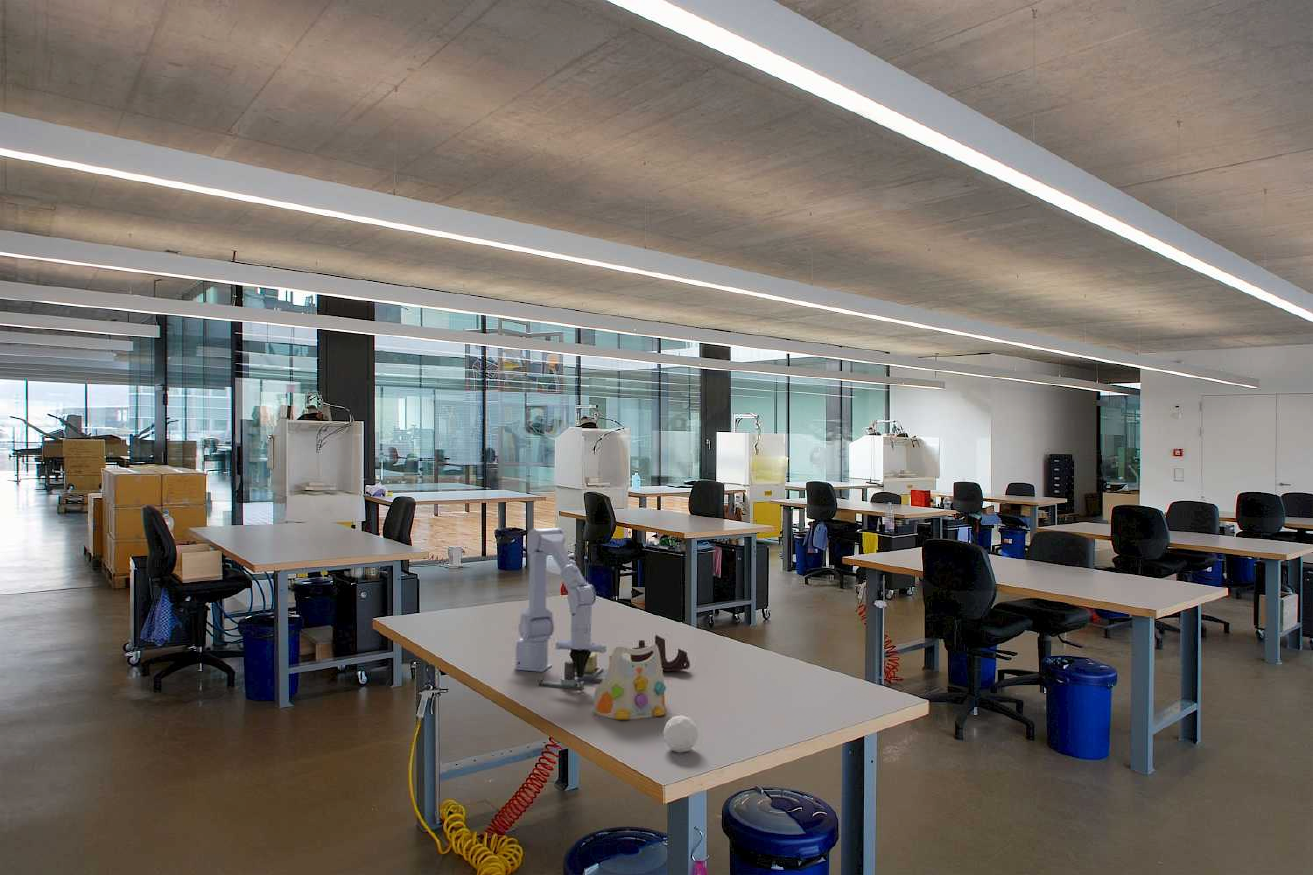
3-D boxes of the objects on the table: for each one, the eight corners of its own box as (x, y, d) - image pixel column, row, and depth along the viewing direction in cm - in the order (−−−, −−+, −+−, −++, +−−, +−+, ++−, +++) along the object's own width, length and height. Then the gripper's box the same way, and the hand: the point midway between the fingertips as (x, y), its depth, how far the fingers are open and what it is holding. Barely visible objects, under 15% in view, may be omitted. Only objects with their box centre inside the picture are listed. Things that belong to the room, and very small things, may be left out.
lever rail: (538, 685, 226) (538, 679, 226) (541, 683, 229) (541, 677, 229) (581, 689, 223) (581, 683, 223) (584, 687, 225) (584, 681, 225)
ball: (683, 766, 176) (679, 745, 172) (658, 744, 181) (654, 723, 177) (706, 743, 180) (703, 722, 176) (681, 722, 185) (678, 702, 181)
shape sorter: (605, 724, 195) (607, 652, 195) (592, 711, 205) (593, 642, 205) (678, 715, 203) (679, 646, 203) (661, 703, 212) (663, 637, 213)
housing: (577, 674, 234) (577, 651, 234) (582, 670, 238) (582, 648, 238) (591, 675, 233) (592, 652, 233) (596, 671, 237) (597, 649, 237)
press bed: (564, 679, 232) (564, 656, 233) (576, 670, 242) (576, 648, 242) (609, 683, 229) (610, 660, 229) (620, 674, 239) (620, 652, 239)
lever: (560, 684, 224) (561, 663, 224) (564, 681, 227) (565, 660, 227) (574, 685, 223) (574, 664, 223) (578, 682, 226) (578, 661, 226)
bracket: (685, 666, 238) (683, 631, 243) (630, 673, 244) (629, 638, 248) (692, 669, 244) (690, 635, 248) (638, 675, 249) (637, 642, 254)
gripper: (551, 629, 223) (551, 677, 222) (600, 633, 219) (599, 682, 219) (561, 624, 229) (560, 671, 229) (608, 627, 226) (607, 675, 226)
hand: (580, 676), depth 224 cm, fingers closed
